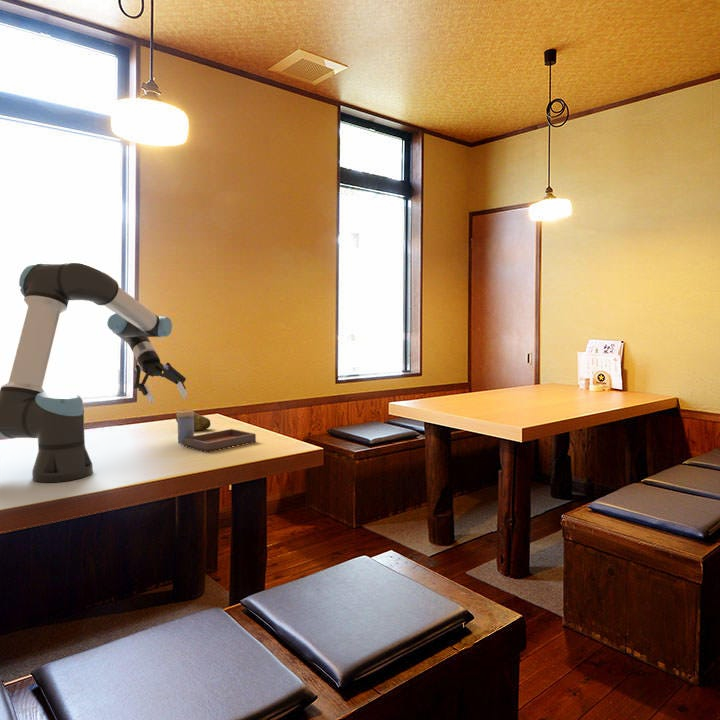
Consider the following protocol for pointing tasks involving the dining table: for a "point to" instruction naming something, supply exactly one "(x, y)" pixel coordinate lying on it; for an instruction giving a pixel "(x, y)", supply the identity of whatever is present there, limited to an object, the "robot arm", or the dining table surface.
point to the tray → (219, 440)
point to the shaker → (185, 425)
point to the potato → (199, 421)
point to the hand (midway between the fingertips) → (169, 399)
